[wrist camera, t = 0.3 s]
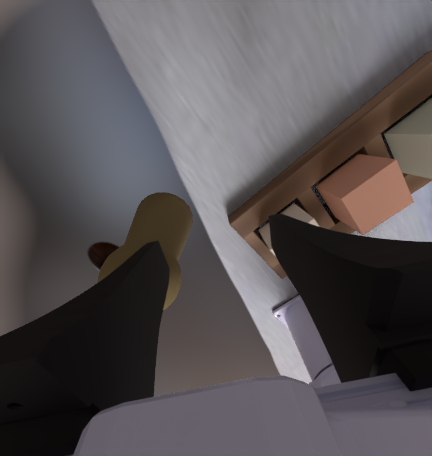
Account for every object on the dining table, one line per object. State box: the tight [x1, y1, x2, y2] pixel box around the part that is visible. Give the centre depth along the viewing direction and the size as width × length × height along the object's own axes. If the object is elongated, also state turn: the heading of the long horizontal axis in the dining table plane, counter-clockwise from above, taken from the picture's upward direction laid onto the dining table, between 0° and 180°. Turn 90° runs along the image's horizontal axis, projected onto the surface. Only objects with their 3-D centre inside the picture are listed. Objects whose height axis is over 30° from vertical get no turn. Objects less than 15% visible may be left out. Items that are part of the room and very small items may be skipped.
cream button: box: [259, 203, 320, 255], centre depth 19 cm, size 4×4×4 cm
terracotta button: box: [315, 154, 414, 235], centre depth 18 cm, size 4×4×4 cm
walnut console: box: [228, 50, 432, 279], centre depth 20 cm, size 10×22×2 cm, turn 132°
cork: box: [98, 193, 193, 310], centre depth 16 cm, size 6×6×11 cm
